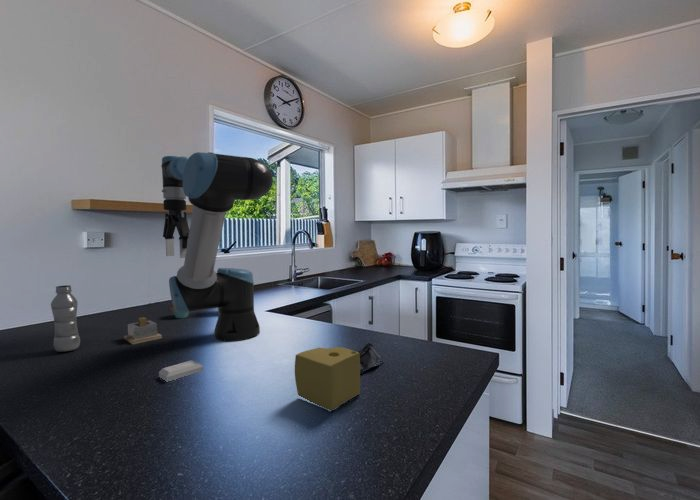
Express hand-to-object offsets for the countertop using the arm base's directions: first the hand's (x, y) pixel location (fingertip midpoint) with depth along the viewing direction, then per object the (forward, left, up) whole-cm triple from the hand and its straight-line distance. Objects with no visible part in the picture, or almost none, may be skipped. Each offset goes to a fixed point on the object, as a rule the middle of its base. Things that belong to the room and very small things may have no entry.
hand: (177, 256), depth 134 cm
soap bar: (-46, +17, -27) cm, 56 cm away
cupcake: (+16, -7, -27) cm, 32 cm away
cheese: (-83, 0, -27) cm, 87 cm away
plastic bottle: (-1, +34, -27) cm, 43 cm away
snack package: (-77, -18, -27) cm, 84 cm away
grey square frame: (-5, +14, -26) cm, 30 cm away
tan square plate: (-5, +14, -27) cm, 31 cm away
